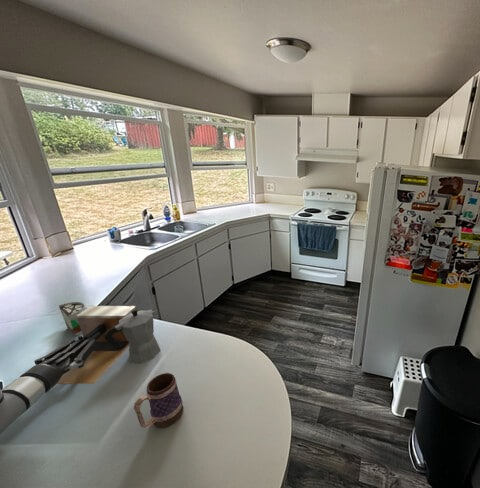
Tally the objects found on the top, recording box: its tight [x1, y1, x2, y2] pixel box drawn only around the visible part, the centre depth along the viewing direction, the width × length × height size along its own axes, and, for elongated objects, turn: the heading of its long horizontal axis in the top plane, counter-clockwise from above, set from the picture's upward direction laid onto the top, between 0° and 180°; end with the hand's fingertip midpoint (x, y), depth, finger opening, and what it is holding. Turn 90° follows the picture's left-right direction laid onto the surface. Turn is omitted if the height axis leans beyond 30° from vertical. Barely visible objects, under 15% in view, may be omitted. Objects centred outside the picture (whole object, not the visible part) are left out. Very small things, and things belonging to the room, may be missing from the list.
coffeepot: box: [105, 308, 161, 364], centre depth 82 cm, size 15×9×18 cm, turn 153°
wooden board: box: [56, 341, 129, 385], centre depth 85 cm, size 18×24×1 cm
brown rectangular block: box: [77, 305, 138, 341], centre depth 91 cm, size 16×6×11 cm, turn 92°
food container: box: [58, 301, 88, 337], centre depth 96 cm, size 12×6×10 cm, turn 58°
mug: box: [133, 372, 184, 429], centre depth 63 cm, size 10×7×12 cm
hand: (103, 327), depth 88 cm, fingers closed
